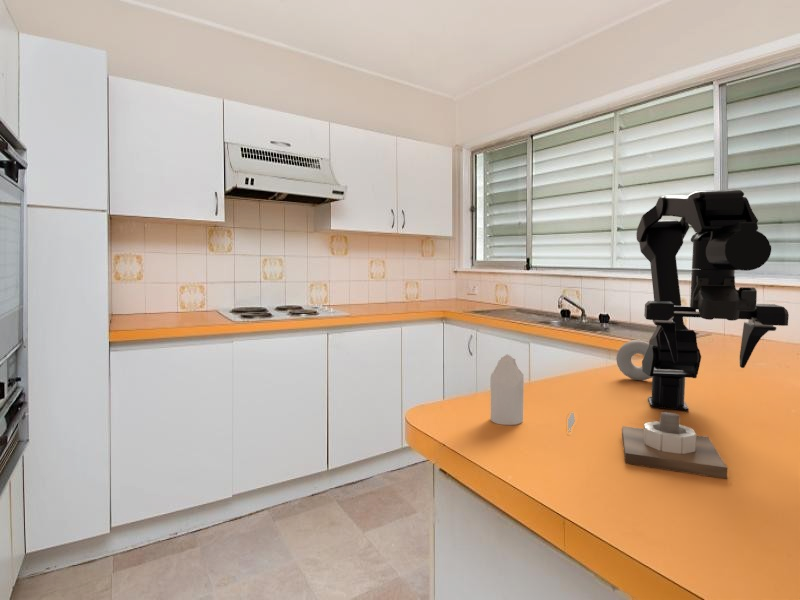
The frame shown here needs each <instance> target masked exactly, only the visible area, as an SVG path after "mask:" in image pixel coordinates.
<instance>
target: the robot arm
mask: <svg viewBox="0 0 800 600" xmlns="http://www.w3.org/2000/svg"><path fill="white" fill-rule="evenodd" d="M744 195H745V193H744V192H743V191H742V190H741V189H725V190H724V189H723V190H721V189H720V190H697V191H694V192H692V193H690V194H688V195H685V194H673V195H672V194H670V195H669V194H666V195H663V196H659V197H658V198H657V201H656V203H655V205H654V206H653V207H652V208H650V209H649V210H648V211H646V212H645V213H644V214H643V215H642V216H641V218H640V220H639V223H638V226H637V230H636V234H635V235H636V241H637V242H638V243H639V244H638V245H639V249H640V253H641V254H642V255H643V257H645V258H646V260H648V261H649V263H650V264H649V265H650V272H651V280H652V291H653V292H652V293H653V300H648V301H647V302H645V304H644V312H643V313H644V315H643V316H644V318H645V320H647V321H652V323H653V325H655V326H656V328H655V330H654V332H653V333H652V336H650V338H649V341H648V343H649V347H648V349H647V352H646V354H645V356H643V358H642V361H641V365H642V366H641V367H642V370H643V372H644V373H646V374H647V375H648V376H652V378H651V396H647V401H648V404H649V406H650V407H651V408H656V409H657V408H658V409H666V410H667V409H668V410H677V411H689V409H690V408H689V406H688V404H687V403H686V401H685V393H686V392H685V388H686V378H691V379H697V378H698V374H699V370H700V366H701V360H702V355H701V351H700V349H699V346H698V341H697V340H698V339H697V332H695V330H694V329H689V328H688V327H687V326H686V325H685V323H684V317H685V318H701V319H704V320H709V321H710V320H711V321H713V320H714V319H717V320H719V319H720V320H727V321H730V322H731V321H737V320H747V321H744V322H743V328H742V334H741V336H742V337H741V342H740V351H739V367H740V368H742V369H745V368H746V365H747V363H748V362H749V360H750V357H751V356H752V354H753V352H754V350H755V348H756V346H757V345H758V343H759V341H761V339H762V337H764V336H765V335H766V334H767V333H768V332H771V331H772V332H773V331H774V332H775V331H777V327H778V326H780V327H781V326H782V327H784V326H786V327H787V326H789V312H788V309H787V308H785V307H784V306H782V305H778V304H774V303H773V304H770V303H757V301H758V300H757V298H758V293H757V292H758V291H757V289H756V287H752V286H751V287H749V286H748V287H747V286H746V287H744V286H742V287H741V286H740V287H739V288H738V289H737V287H736V280H735V279H736V276H735V271H753V270H756V269H759V268H760V267H762V266H764V265H765V264H766V262H768V260H769V258H770V256H771V253H772V245H771V243H770V241H769V238H767V237H766V235H765V234H764V233H762V232H760V231H758V229H759V226H758V222H759V219H758V217H757V216H756V215H755V213H754V212H753V209H752V206H751V205H750V202H749V199H748V198H747V197H746V196H744ZM663 217H676V218H680V221H679V220H678V219H662V218H663ZM690 226H691V227H692V229H693V231H694V232H695V233H694V234H693V235H692V236H691V238H690V242H692V262H691V283H690V300H689V301H690V302H689V304H690V305H682V299H681V290H680V281H679V274H678V273H679V272H678V266H677V255H678V253H679V251H680V250H681V248H682V246H683V245H684V238H685V237H686V236H687V233H688V232H689V230H690ZM697 310H698V311H697ZM776 326H777V327H776ZM654 367H655V368H656V369H654Z"/></svg>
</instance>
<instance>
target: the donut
mask: <svg viewBox="0 0 800 600" xmlns="http://www.w3.org/2000/svg"><path fill="white" fill-rule="evenodd" d="M648 347H649V341H648V342H647V341H645V340H640V339H637V340H630V341H628V342H625V343H624V344H623V345H621V346H620V347H619V349H618V350H617V352H616V357H615V359H616V366H617V368H618V370H619V371H620V373H622V374H623V375H624V376H626V377H628V378H629V379H631V380H634V381H635V380H636V381H647V380H649V379H652V376H648V375H647V374H646V373H644V372H643V370H642V366H636V365H635V364H634V363H633V362H632V357H633V356H634V355H638V354H639V355H642V356H643V357H644V356H645V354H646V352H647V349H648ZM654 369H656V368H655V367H654Z"/></svg>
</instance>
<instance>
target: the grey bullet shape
mask: <svg viewBox="0 0 800 600" xmlns="http://www.w3.org/2000/svg"><path fill="white" fill-rule="evenodd" d="M524 385H525V382H524V374H523V372H522V370H521V369H520V368H519V365H518V364H517V361H516V358H515V357H513V356H512V355H510V354H505V355H504V356H502V357H500V359H499V360H498V362H497V364H496V366H495V367H494V369H493V371H492V373H491V374H490V386H489V387H490V421H491V422H492V423H493V424H494V423H495V424H497V425H503V426H516V425H520V424H521V423H523V422H524V391H525V390H524Z"/></svg>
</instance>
